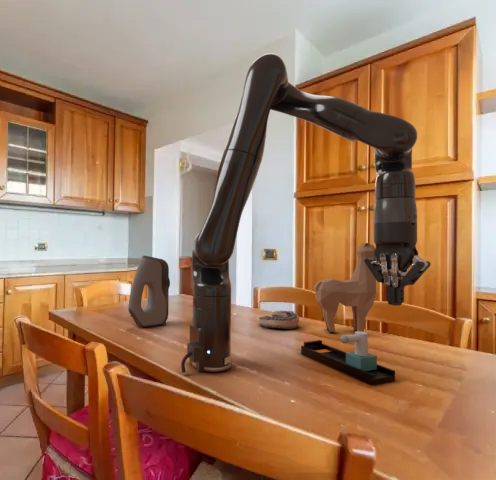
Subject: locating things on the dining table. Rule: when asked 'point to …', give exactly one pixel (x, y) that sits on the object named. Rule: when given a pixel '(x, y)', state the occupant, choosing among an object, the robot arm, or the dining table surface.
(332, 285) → the toy
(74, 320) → the dining table surface
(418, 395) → the dining table surface
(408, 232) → the robot arm
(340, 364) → the rail
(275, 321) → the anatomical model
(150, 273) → the brown holed slab
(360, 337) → the handle
